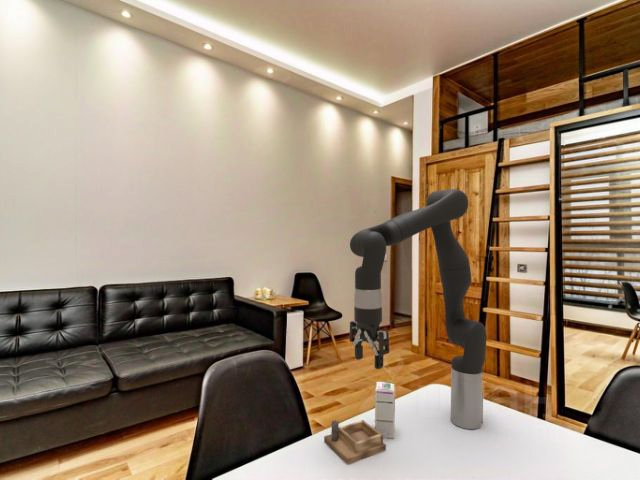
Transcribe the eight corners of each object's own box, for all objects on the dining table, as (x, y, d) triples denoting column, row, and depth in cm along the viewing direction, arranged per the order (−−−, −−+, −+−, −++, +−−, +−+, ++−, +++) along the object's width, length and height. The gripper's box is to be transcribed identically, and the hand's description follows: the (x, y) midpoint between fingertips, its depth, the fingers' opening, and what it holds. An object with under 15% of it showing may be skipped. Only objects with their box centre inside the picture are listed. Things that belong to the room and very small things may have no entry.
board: (360, 429, 112) (360, 408, 111) (386, 450, 101) (386, 427, 101) (324, 441, 105) (324, 419, 105) (347, 464, 95) (348, 440, 95)
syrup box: (394, 439, 107) (395, 390, 106) (374, 436, 108) (375, 388, 108) (394, 428, 112) (395, 382, 112) (375, 426, 114) (376, 380, 113)
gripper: (396, 307, 95) (396, 369, 95) (362, 298, 107) (363, 353, 107) (374, 311, 91) (374, 375, 91) (341, 301, 103) (342, 358, 103)
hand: (368, 363), depth 99 cm, fingers open, 8 cm apart
